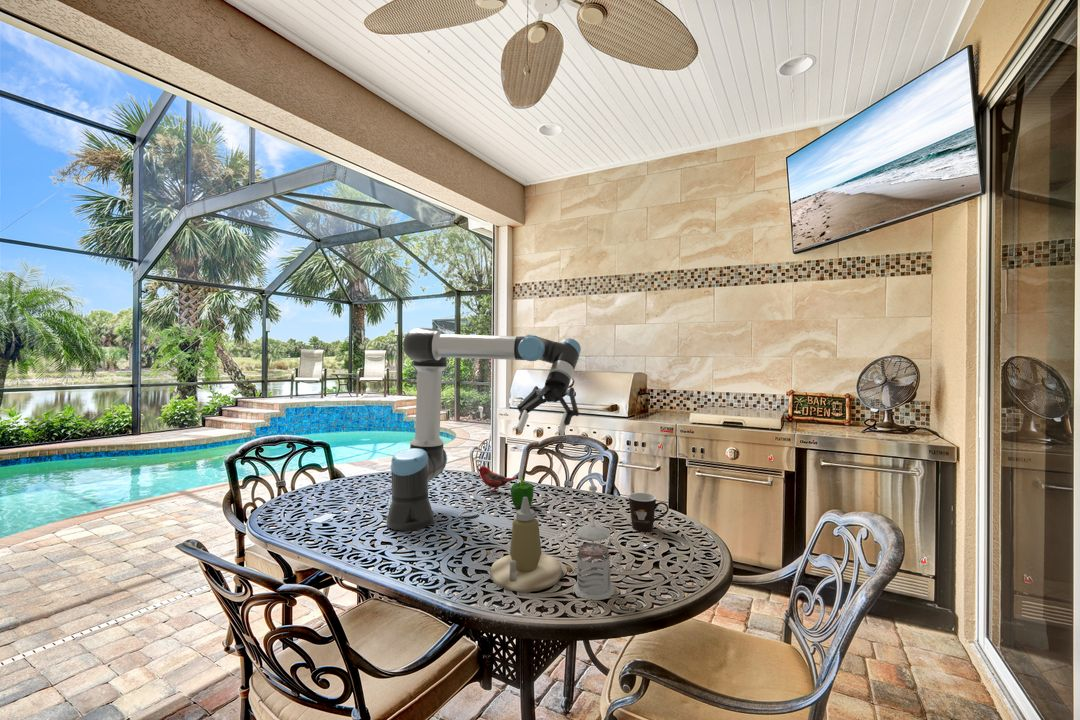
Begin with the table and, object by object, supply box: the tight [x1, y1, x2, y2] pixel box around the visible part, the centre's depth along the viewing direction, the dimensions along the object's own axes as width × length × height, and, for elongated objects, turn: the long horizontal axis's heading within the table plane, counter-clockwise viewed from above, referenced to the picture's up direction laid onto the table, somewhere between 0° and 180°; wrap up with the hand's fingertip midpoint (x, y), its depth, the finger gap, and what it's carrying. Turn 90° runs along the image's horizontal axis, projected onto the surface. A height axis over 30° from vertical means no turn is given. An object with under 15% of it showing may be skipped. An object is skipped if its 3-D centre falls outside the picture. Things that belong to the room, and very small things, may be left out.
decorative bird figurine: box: [477, 465, 519, 492], centre depth 189 cm, size 3×18×10 cm, turn 75°
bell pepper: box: [510, 477, 534, 509], centre depth 172 cm, size 8×8×10 cm
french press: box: [572, 484, 623, 601], centre depth 112 cm, size 10×12×25 cm
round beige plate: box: [490, 553, 563, 593], centre depth 121 cm, size 18×18×6 cm
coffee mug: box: [628, 492, 669, 533], centre depth 149 cm, size 12×9×10 cm
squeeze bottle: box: [509, 497, 543, 572], centre depth 121 cm, size 8×8×18 cm
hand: (539, 431), depth 141 cm, fingers open, 13 cm apart
